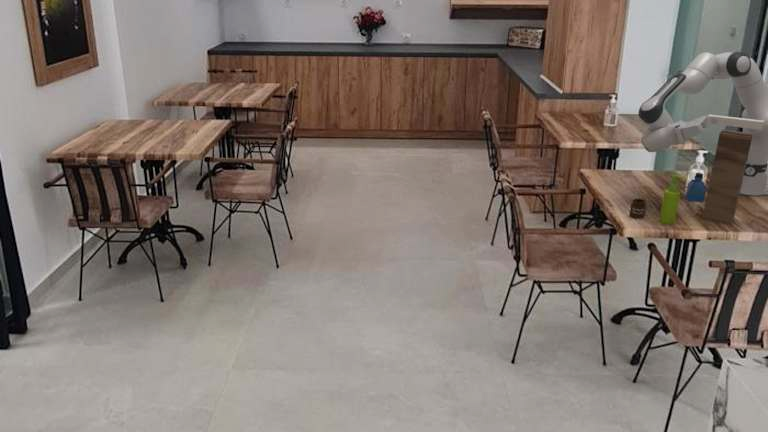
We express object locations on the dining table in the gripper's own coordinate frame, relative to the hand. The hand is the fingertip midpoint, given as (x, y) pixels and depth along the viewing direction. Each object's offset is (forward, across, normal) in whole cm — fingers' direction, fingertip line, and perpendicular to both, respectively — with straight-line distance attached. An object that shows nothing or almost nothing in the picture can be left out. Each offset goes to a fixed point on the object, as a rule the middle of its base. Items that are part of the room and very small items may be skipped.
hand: (717, 118), depth 260 cm
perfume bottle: (-25, -20, -34) cm, 46 cm away
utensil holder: (-39, +17, -25) cm, 49 cm away
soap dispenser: (-28, +16, -31) cm, 45 cm away
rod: (+5, 0, -5) cm, 7 cm away
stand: (-14, 0, -39) cm, 42 cm away
